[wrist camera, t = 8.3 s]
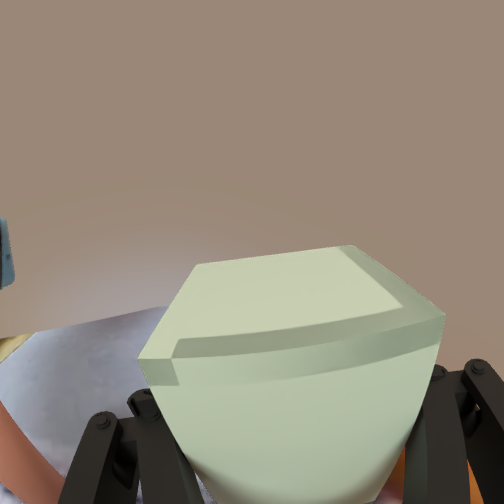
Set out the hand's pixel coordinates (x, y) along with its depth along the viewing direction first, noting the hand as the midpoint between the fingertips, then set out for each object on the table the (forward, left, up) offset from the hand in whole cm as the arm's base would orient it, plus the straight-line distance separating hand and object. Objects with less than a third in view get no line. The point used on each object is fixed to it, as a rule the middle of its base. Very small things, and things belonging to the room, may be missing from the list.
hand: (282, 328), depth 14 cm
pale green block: (+5, 0, -6) cm, 8 cm away
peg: (+10, -15, -11) cm, 21 cm away
